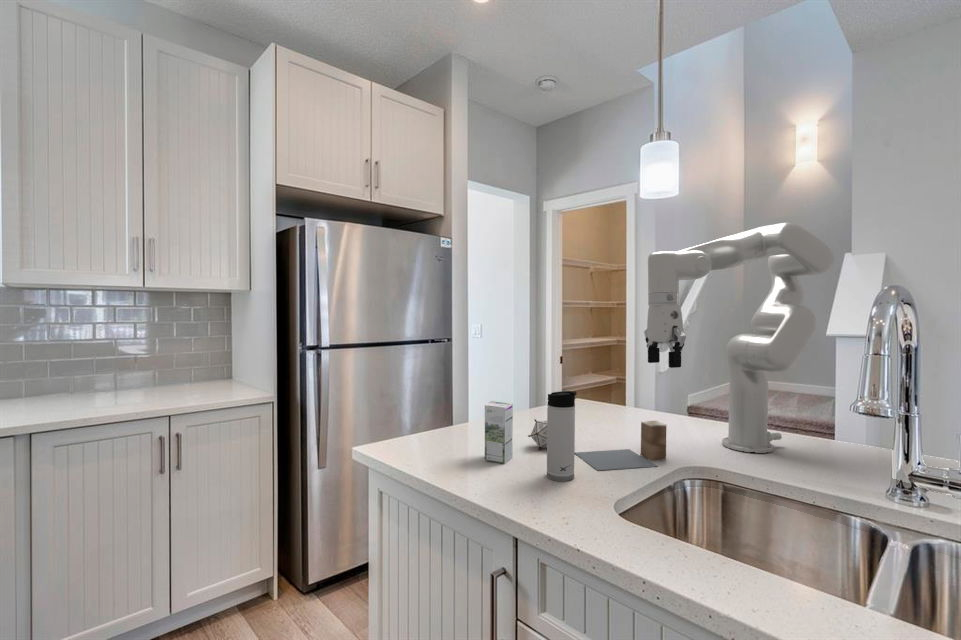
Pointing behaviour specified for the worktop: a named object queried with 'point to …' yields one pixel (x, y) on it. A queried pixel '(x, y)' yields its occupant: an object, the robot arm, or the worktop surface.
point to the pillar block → (653, 440)
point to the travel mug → (561, 435)
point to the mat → (614, 459)
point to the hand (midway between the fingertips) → (663, 364)
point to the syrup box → (498, 431)
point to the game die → (540, 433)
